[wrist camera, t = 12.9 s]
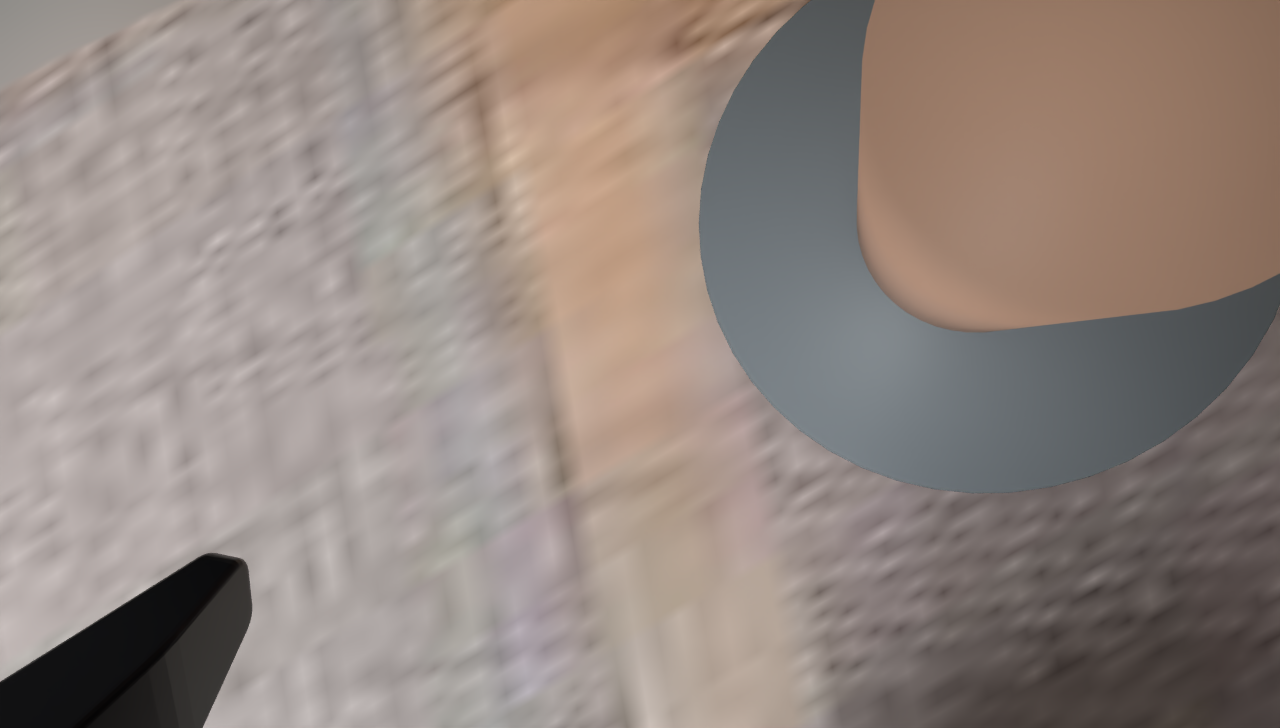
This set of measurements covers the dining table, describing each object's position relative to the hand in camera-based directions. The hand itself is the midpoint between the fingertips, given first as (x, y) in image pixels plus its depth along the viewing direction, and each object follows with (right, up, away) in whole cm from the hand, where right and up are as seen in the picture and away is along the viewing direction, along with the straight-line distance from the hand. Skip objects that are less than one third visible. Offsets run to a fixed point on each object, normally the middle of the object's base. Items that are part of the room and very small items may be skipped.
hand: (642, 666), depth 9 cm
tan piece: (+7, +7, +9) cm, 13 cm away
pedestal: (+8, +7, +11) cm, 15 cm away
